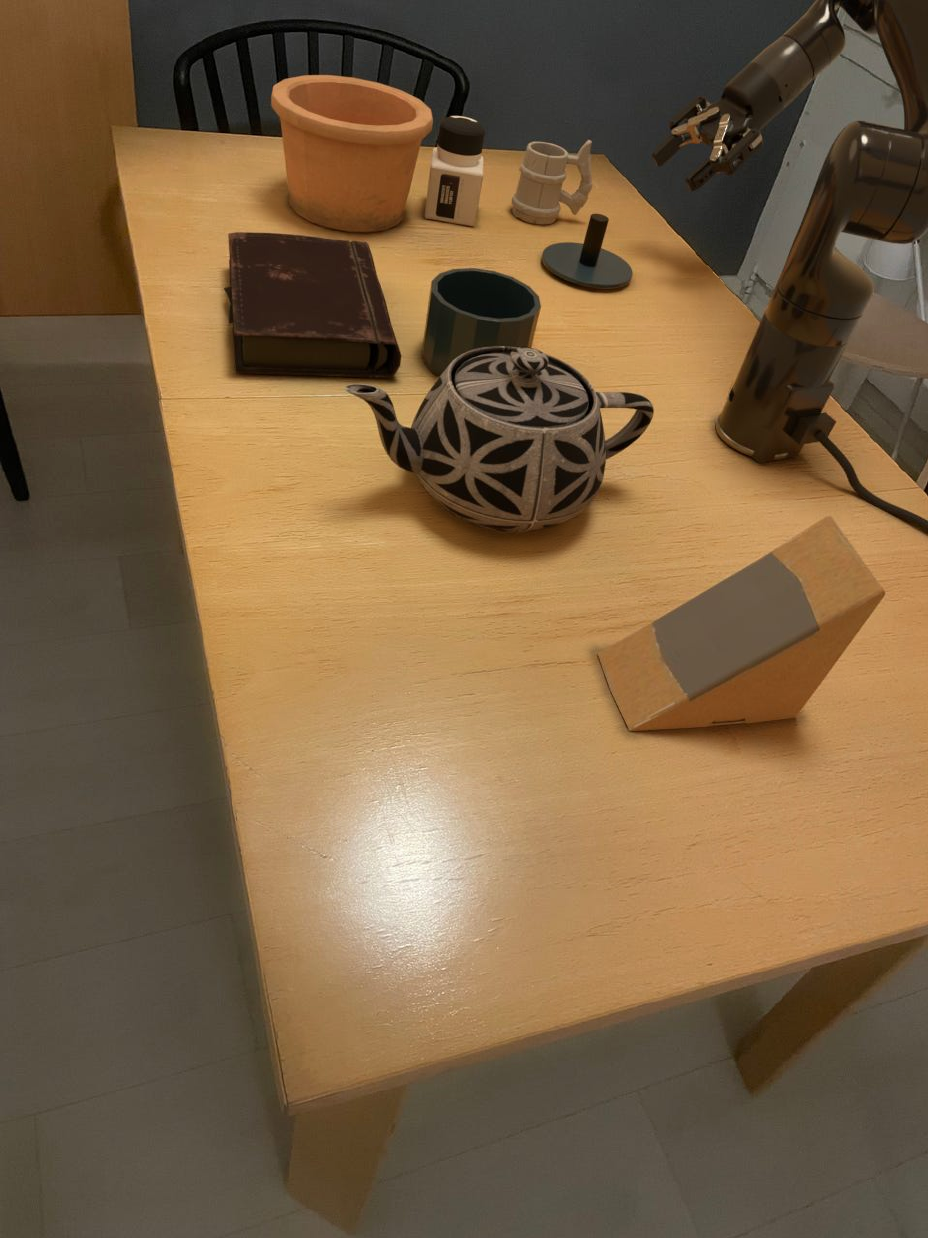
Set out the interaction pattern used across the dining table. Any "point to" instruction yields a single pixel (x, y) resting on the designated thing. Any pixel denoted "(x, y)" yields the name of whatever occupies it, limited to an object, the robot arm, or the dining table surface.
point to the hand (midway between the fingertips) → (671, 173)
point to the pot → (476, 315)
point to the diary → (308, 307)
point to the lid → (588, 259)
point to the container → (456, 172)
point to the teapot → (508, 437)
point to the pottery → (349, 149)
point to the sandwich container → (747, 639)
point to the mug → (549, 182)
